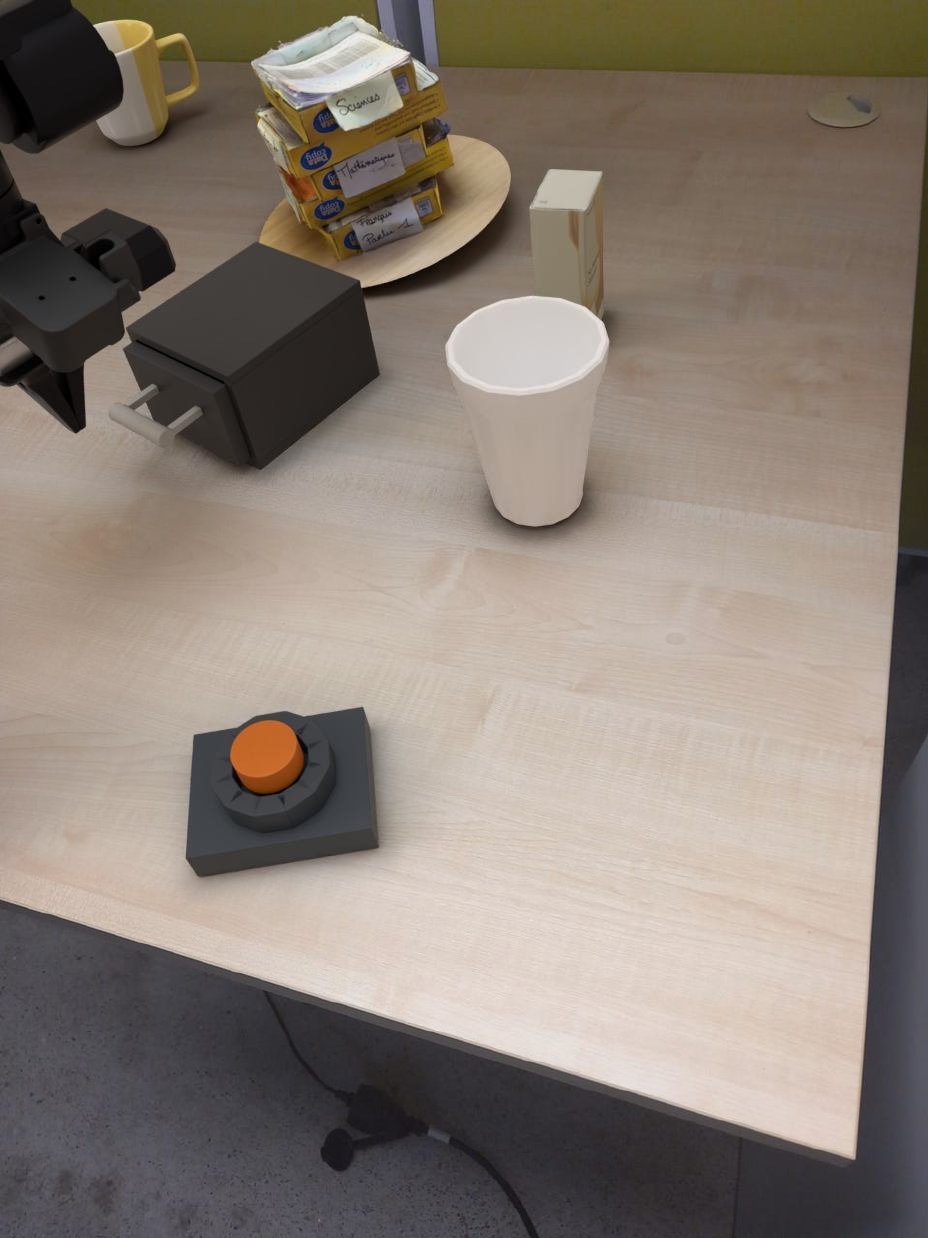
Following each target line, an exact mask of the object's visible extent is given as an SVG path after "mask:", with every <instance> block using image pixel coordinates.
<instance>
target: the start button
mask: <svg viewBox="0 0 928 1238" xmlns="http://www.w3.org/2000/svg"><path fill="white" fill-rule="evenodd" d="M230 758H231V762H232V765H233V767H234V768H235V770H236V772H237V774H238V776H239V778H240V780H241V781H242V783H243V784H244V786H245V787H247V788H248V789H249V790H251V791H253V792H256V793H261V794H270V793H275V792H278V791H281V790H283V789H285V788H287V787H288V786H290V785H291V784H292V783H293V782H294V781H295V780H296V779H297V778H298V776H299V775H300V773H301V771H302V768H303V764H304V755H303V752H302V749H301V747H300V745H299V742H298V740H297V738H296V735H295V733H294V731H293V730H292V729H291V728H290V727H289V726H288V725H286V724H284V723H282V722H279V721H273V720H266V721H261V722H257V723H254V724H252V725H250V726H248V727H247V728H245V729H244V730H243V731H242V732H241V733H240V734H239V735H238V736H237V737H236V739H235V740H234V742H233V745H232V747H231V753H230Z"/></svg>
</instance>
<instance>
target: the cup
mask: <svg viewBox="0 0 928 1238" xmlns="http://www.w3.org/2000/svg"><path fill="white" fill-rule="evenodd" d="M444 348H445V349H444V350H445V356H446V367H447V369H448V373H449V376H450V380H451V383H452V387H453V390H455V392H456V394H457V395H458V398H459V402H460V404H461V407H462V410H463V413H464V416H465V419H466V422H467V425H468V428H469V433H470V434H471V437H472V441H473V443H474V447H475V450H476V453H477V456H478V459H479V462H480V465H481V468H482V471H483V474H484V477H485V481H486V483H487V486H488V489H489V493H490V495H491V498H492V501H493V504H494V508H495V509H496V510H497V511H498V512H499V514H500V515H501V516H502V517H503V518H505V519H507V520H508V521H511V522H512V523H514V524H516V525H519V526H521V525H522V526H528V527H542V526H549V525H554V524H556V523H559V522H560V521H563V520H565V519H567V518H569V517H570V516H571V515H572V514H573V513H574V512H575V511H577V509H578V508H579V507H580V504H581V502H582V499H583V496H584V490H583V489H584V482H585V475H586V470H587V469H586V468H587V462H588V455H589V447H590V441H591V434H592V428H593V423H594V422H593V421H594V415H595V408H596V400H597V395H598V389H599V387H600V386H601V382H602V379H603V376H604V373H605V371H606V367H607V365H608V364H607V363H608V358H609V357H608V356H609V348H610V338H609V335H608V332H607V329H606V325H605V323H604V321H603V320H600V319H599V318H598V317H596V316H595V315H594V314H593V313H592V312H591V311H590V310H588V309H587V308H586V307H584V306H581V305H579V304H576V303H573V302H570V301H567V300H565V299H562V298H553V297H541V296H535V295H528V296H527V295H526V296H520V297H515V298H514V297H513V298H507V299H502V300H499V301H495V302H494V303H490V304H489V305H486V306H484V307H483V306H482V307H481V308H479V309H478V308H477V309H476V310H474V311H473V312H472V313H470V315H468V316H467V317H465V318H464V319H463V320H461V322H459V323H457V324H456V325H455V327H454V329H453V330H452V332H451V333H450V336H449V337H448V340H447V341H446V343H445V345H444Z"/></svg>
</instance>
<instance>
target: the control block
mask: <svg viewBox="0 0 928 1238" xmlns="http://www.w3.org/2000/svg"><path fill="white" fill-rule="evenodd" d="M266 720H273V721H279V722H282V723H284V724H286V725H288V726H289V727H290V728H291V729H292V730H293V731H294V733H295V735H296V738H297V740H298V742H299V745H300V747H301V749H302V752H303V755H304V764H303V768H302V771H301V773H300V775H299V776H298V778H297V779H296V780H295V781H294V782H293V783H292V784H291V785H290V786H288V787H287V788H285V789H283V790H281V791H278V792H275V793H270V794H261V793H256V792H253V791H251V790H249V789H248V788H247V787H245V786H244V784H243V783H242V781H241V780H240V778H239V776H238V774H237V772H236V770H235V768H234V767H233V765H232V762H231V758H230V753H231V747H232V745H233V742H234V740H235V739H236V737H237V736H238V735H239V734H240V733H241V732H242V731H243V730H244V729H245V728H247V727H248V726H250V725H252V724H254V723H257V722H261V721H266ZM192 737H193V738H192V752H191V753H192V754H191V766H190V767H191V768H190V770H191V771H190V785H189V799H188V800H189V801H188V813H187V815H188V817H187V831H186V847H185V860H186V862H187V863H188V864H189V866H190V867H191V868H192V870H193V872H194V873H195V874H196V876H197V877H198V878H201V877H206V876H213V875H219V874H224V873H226V874H227V873H231V872H237V871H243V870H250V869H256V868H262V867H269V866H274V865H281V864H285V863H292V862H299V861H305V860H312V859H317V858H322V857H328V856H329V857H330V856H335V855H340V854H347V853H352V852H353V853H354V852H359V851H365V850H371V849H377V848H378V849H379V847H380V846H379V845H380V843H379V832H378V818H377V804H376V803H377V802H376V792H375V791H376V790H375V789H376V788H375V775H374V763H373V762H374V761H373V750H372V749H373V748H372V738H371V737H372V736H371V725H370V723H369V720H368V717H367V714H366V711H365V708H364V706H360V707H359V706H358V707H353V708H346V709H340V710H335V711H328V712H323V713H322V712H321V713H317V714H309V715H300V714H297V713H294V712H291V711H287V710H281V711H277V712H276V711H275V712H269V713H264V714H258V715H254V716H252V717H251V718H250V719H248V720H246V721H245V722H243V723H242V724H240V725H239V726H236V727H232V728H226V729H220V730H212V731H207V732H202V733H196V734H195V733H194V734H193V736H192Z"/></svg>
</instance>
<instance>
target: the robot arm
mask: <svg viewBox="0 0 928 1238" xmlns="http://www.w3.org/2000/svg"><path fill="white" fill-rule="evenodd" d="M93 25H94V24H93V23H92V22H91V21H90V20H89V19H88V18H87V16H85V15H84V14H83V13H82V12H81V11H79V9H77V8H76V7H74V6H73V3H72V0H1V1H0V143H1V144H4V145H11V144H12V146H14V147H16V148H17V149H19V150H21V151H23V152H24V153H27V154H29V155H30V154H31V155H38V154H40V153H42V152H44V151H45V150H47V149H49V148H50V147H52V146H54V145H56V144H57V143H59V142H61V141H62V140H65V139H66V138H68V137H70V136H72V135H74V134H75V133H77V132H78V131H80V130H83V129H84V128H86V127H87V126H90V125H92V124H93V123H95V122H96V120H98V119H100V118H101V117H103V116H105V115H107V114H108V113H110V112H112V111H114V110H115V109H117V108H118V107H119V106H120V104H121V102H122V100H123V93H124V87H123V78H122V74H121V70H120V66H119V64H118V61H117V58H116V56H115V54H114V53H113V52H112V51H111V50H109V49H108V47H107V45H106V43H105V42H104V40H103V38H102V37H101V36H100V34H99V33H98V31H97V30H96V28H95V27H94V26H93ZM176 268H177V263H176V260H175V258H174V255H173V251H172V248H171V246H170V243H169V240H168V238H167V237H166V236H165V235H164V234H163V233H162V231H161V230H160V229H159V228H157V227H156V226H153V225H150V224H147V223H145V222H143V221H141V220H137V219H135V218H133V217H130V216H127V215H125V214H122V213H120V212H117V211H115V210H112V209H110V208H107V207H104V208H103V209H101V210H100V211H98V212H96V213H94V214H92V215H91V216H89V217H88V218H85V219H84V220H82V221H81V222H79V223H77V224H76V225H74V226H72V227H70V228H68V229H67V230H64V231H63V232H61V235H60V239H59V238H58V236H57V235H56V234H55V233H54V231H53V230H52V229H51V228H50V226H49V224H48V222H47V219H46V217H45V215H43V214H42V213H41V211H40V210H39V207H38V205H37V203H36V202H33V201H30V200H28V199H25V198H23V195H22V194H21V191H20V189H19V187H18V184H17V183H16V180H15V178H14V176H13V174H12V172H11V169H10V167H9V166H8V162H7V161H6V158H5V157H4V154H3V152H2V150H1V149H0V386H1V387H4V388H11V387H14V386H17V387H18V388H20V389H21V390H22V391H23V392H24V393H25V394H26V395H28V396H29V397H30V398H31V399H32V400H33V401H34V402H36V403H37V404H38V405H39V406H40V407H42V408H43V409H44V410H45V411H46V412H47V413H48V414H50V416H52V417H53V418H54V419H55V420H56V421H57V422H58V423H59V424H61V426H63V427H64V428H65V429H66V430H68V431H70V432H72V433H73V434H76V435H77V434H79V433H80V432H81V431H83V430H84V429H86V427H87V415H86V414H87V413H86V394H85V363H86V361H87V360H89V359H90V358H92V357H93V356H95V355H96V354H98V353H99V352H101V351H102V350H104V349H105V348H107V347H108V346H115V345H117V343H119V342H120V341H121V340H122V339H123V338H124V336H125V333H126V327H125V323H124V318H123V312H124V311H126V310H128V309H129V308H131V307H132V306H134V305H135V304H137V303H138V302H140V301H141V300H142V297H141V294H140V292H141V293H142V292H145V291H146V290H148V289H150V288H152V287H153V286H154V285H156V284H158V283H159V282H160V281H162V280H164V279H165V278H167V277H168V276H170V275H172V274H173V273H175V272H176Z"/></svg>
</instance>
